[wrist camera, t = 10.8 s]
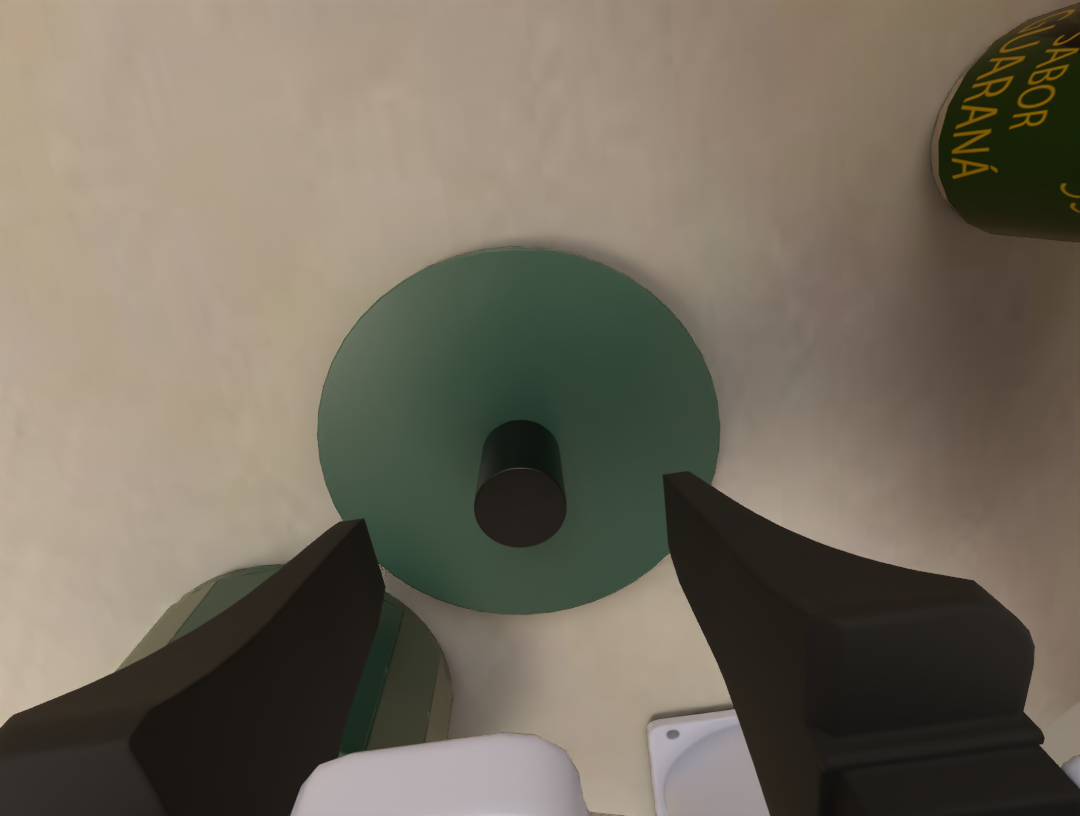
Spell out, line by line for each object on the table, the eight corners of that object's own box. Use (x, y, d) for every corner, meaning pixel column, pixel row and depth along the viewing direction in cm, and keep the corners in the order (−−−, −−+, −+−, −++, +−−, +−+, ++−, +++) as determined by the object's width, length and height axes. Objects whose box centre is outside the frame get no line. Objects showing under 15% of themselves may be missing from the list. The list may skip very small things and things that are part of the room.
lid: (700, 212, 16) (759, 220, 12) (716, 568, 21) (763, 660, 17) (276, 279, 16) (198, 309, 12) (382, 615, 21) (349, 716, 17)
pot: (414, 543, 20) (370, 688, 14) (475, 768, 24) (461, 952, 18) (100, 588, 20) (-70, 748, 14) (213, 803, 24) (117, 995, 18)
